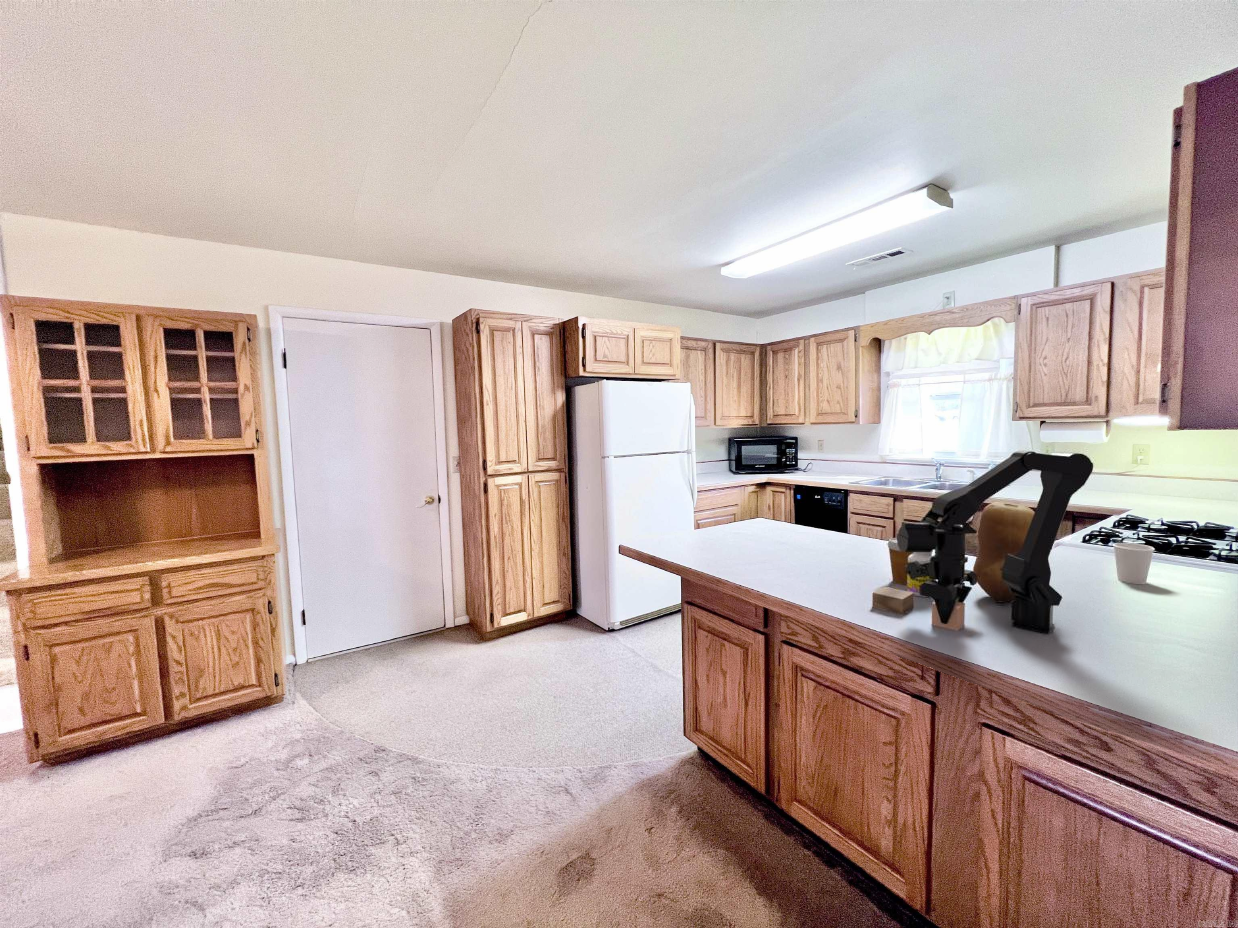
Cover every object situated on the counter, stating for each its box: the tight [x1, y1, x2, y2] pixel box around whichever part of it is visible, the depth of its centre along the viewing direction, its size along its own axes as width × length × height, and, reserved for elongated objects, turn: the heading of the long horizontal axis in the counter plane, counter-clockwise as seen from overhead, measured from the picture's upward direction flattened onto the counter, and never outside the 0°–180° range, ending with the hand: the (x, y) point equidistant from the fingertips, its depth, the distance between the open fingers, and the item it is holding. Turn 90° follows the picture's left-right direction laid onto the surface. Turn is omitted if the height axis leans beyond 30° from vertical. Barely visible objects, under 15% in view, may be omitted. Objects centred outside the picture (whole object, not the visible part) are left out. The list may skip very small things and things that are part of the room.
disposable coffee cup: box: [886, 537, 913, 586], centre depth 148 cm, size 10×10×12 cm
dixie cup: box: [1112, 542, 1156, 585], centre depth 145 cm, size 8×8×10 cm
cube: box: [931, 601, 966, 632], centre depth 116 cm, size 5×5×5 cm
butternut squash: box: [972, 501, 1035, 603], centre depth 131 cm, size 14×13×25 cm
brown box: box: [871, 586, 915, 615], centre depth 128 cm, size 7×7×4 cm
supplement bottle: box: [906, 550, 937, 598], centre depth 137 cm, size 7×7×13 cm
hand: (948, 620), depth 116 cm, fingers closed on cube, 5 cm apart
